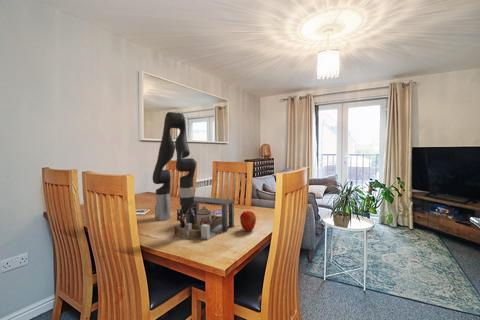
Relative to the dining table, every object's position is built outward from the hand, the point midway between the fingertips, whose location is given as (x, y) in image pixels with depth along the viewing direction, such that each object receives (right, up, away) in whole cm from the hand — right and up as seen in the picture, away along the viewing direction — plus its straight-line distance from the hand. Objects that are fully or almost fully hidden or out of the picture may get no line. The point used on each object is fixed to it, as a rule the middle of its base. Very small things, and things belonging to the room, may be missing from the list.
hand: (187, 225), depth 125 cm
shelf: (+10, -5, +17) cm, 21 cm away
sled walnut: (+5, -5, +13) cm, 15 cm away
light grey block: (+11, -6, 0) cm, 13 cm away
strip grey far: (+16, -6, +11) cm, 20 cm away
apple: (+33, -6, +9) cm, 35 cm away
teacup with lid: (+8, -6, +18) cm, 21 cm away
